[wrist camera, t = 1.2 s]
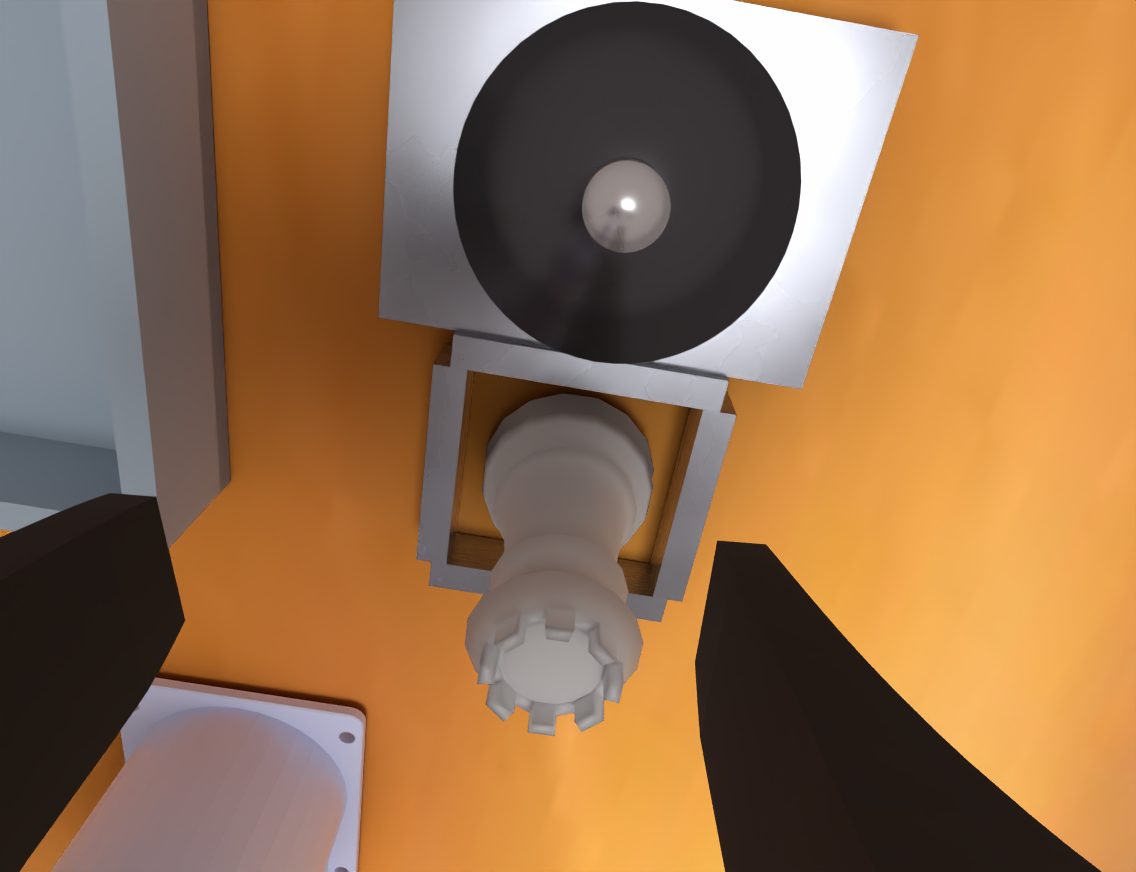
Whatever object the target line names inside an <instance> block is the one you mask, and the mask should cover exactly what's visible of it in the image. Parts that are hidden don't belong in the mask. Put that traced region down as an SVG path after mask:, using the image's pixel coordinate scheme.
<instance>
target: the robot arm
mask: <svg viewBox="0 0 1136 872" xmlns="http://www.w3.org/2000/svg"><path fill="white" fill-rule="evenodd" d="M184 622H185V618H184V613H183V609H182V605H181V600H180V596H179V592H178V588H177V583H176V579H175V575H174V570H173V566H172V562H171V558H170V553H169V549H168V545H167V540H166V536H165V532H164V528H163V523H162V519H161V515H160V510H159V506H158V502H157V498H156V497H155V496H142V495H129V494H117V493H108V494H105V495H103V496H100V497H97V498H94V499H91V500H88V501H85V502H83V503H80V504H78V505H75V506H73V507H70V508H68V509H65V510H63V511H60V512H58V513H55V514H53V515H51V516H48V517H46V518H44V519H41V520H39V521H37V522H34V523H32V524H30V525H28V526H25V527H23V528H21V529H18V530H16V531H14V532H12V533H9V534H7V535H5V536H3V537H0V872H20V870H21V869H22V867H23V866H24V864H25V863H26V861H27V860H28V858H29V857H30V856H31V854H32V853H33V851H34V850H35V849H36V847H37V846H38V845H39V843H40V842H41V840H42V839H43V838H44V836H45V835H46V833H47V832H48V831H49V829H50V828H51V826H52V825H53V824H54V822H55V821H56V820H57V818H58V817H59V815H60V814H61V813H62V811H63V810H64V808H65V807H66V806H67V804H68V803H69V801H70V800H71V799H72V797H73V796H74V795H75V793H76V792H77V790H78V789H79V788H80V786H81V785H82V783H83V782H84V781H85V779H86V778H87V776H88V775H89V774H90V772H91V771H92V770H93V768H94V767H95V765H96V764H97V763H98V761H99V760H100V758H101V757H102V756H103V754H104V753H105V752H106V750H107V749H108V747H109V746H110V744H111V743H112V742H113V740H114V739H115V737H116V736H117V735H118V733H119V732H121V738H122V745H123V751H124V758H125V765H124V766H123V767H122V769H121V770H120V772H119V773H118V775H117V776H116V778H115V779H114V780H113V782H112V783H111V785H110V786H109V788H108V789H107V790H106V792H105V793H104V795H103V796H102V798H101V799H100V801H99V802H98V803H97V805H96V806H95V808H94V809H93V811H92V812H91V813H90V815H89V816H88V818H87V819H86V821H85V822H84V824H83V825H82V826H81V828H80V829H79V831H78V832H77V834H76V835H75V837H74V838H73V839H72V841H71V842H70V844H69V845H68V847H67V848H66V849H65V851H64V852H63V854H62V855H61V857H60V858H59V860H58V861H57V862H56V864H55V865H54V867H53V868H52V870H51V871H50V872H358V857H359V839H360V821H361V803H362V785H363V767H364V749H365V731H366V718H365V715H364V714H363V713H362V712H361V711H360V710H358V709H356V708H353V707H347V706H340V705H334V704H327V703H320V702H314V701H307V700H301V699H294V698H287V697H281V696H274V695H268V694H261V693H254V692H248V691H241V690H235V689H228V688H221V687H215V686H208V685H202V684H195V683H188V682H182V681H175V680H169V679H162V678H156V676H157V674H158V672H159V670H160V668H161V667H162V665H163V663H164V661H165V659H166V657H167V655H168V653H169V651H170V649H171V647H172V645H173V644H174V642H175V640H176V638H177V636H178V634H179V632H180V630H181V628H182V626H183V624H184ZM695 669H696V685H697V702H698V715H699V728H700V739H701V744H702V750H703V756H704V761H705V767H706V772H707V777H708V783H709V788H710V794H711V799H712V804H713V810H714V815H715V820H716V825H717V831H718V836H719V841H720V847H721V852H722V857H723V862H724V868H725V872H1101V871H1100V870H1099V869H1097V868H1096V867H1095V866H1093V865H1092V864H1091V863H1090V862H1088V861H1087V860H1086V859H1084V858H1083V857H1082V856H1080V855H1079V854H1078V853H1077V852H1075V851H1074V850H1073V849H1071V848H1070V847H1069V846H1068V845H1066V844H1065V843H1064V842H1063V841H1062V840H1060V839H1059V838H1058V837H1057V836H1055V835H1054V834H1053V833H1052V832H1050V831H1049V830H1048V829H1047V828H1046V827H1044V826H1043V825H1042V824H1041V823H1039V822H1038V821H1037V820H1036V819H1034V818H1033V817H1032V816H1031V815H1030V814H1028V813H1027V812H1026V811H1025V810H1024V809H1023V808H1022V807H1020V806H1019V805H1018V804H1017V803H1016V802H1015V801H1013V800H1012V799H1011V798H1010V797H1009V796H1008V795H1007V794H1005V793H1004V792H1003V791H1002V790H1001V789H1000V788H999V787H997V786H996V785H995V784H994V783H993V782H992V781H990V780H989V779H988V778H987V777H986V776H985V775H984V774H982V773H981V772H980V771H979V770H978V769H977V768H975V767H974V766H973V765H972V764H971V763H970V762H969V761H967V760H966V759H965V758H964V757H963V756H962V755H961V754H960V753H959V752H958V751H957V750H956V749H954V748H953V747H952V746H951V745H950V744H949V743H948V742H947V741H946V740H945V739H944V738H943V737H942V736H940V735H939V734H938V733H937V732H936V731H935V730H934V729H933V728H932V727H931V726H930V725H929V724H928V723H927V722H926V721H925V720H924V719H923V718H922V717H921V716H920V715H919V714H918V713H917V712H916V711H915V710H914V709H913V708H912V707H911V706H910V705H909V704H908V703H907V702H906V701H905V700H904V699H903V698H902V697H901V696H900V695H899V694H898V693H897V692H896V691H895V690H894V689H893V688H892V687H891V686H890V685H889V684H888V683H887V682H886V681H885V680H884V679H883V678H882V677H881V676H880V675H879V674H878V672H877V671H876V670H875V669H874V668H873V667H872V666H871V665H870V664H869V663H868V662H867V661H866V660H865V659H864V658H863V656H862V655H861V654H860V653H859V652H858V651H857V650H856V649H855V648H854V647H853V645H852V644H851V643H850V642H849V641H848V640H847V639H846V638H845V637H844V636H843V634H842V633H841V632H840V631H839V630H838V629H837V628H836V627H835V625H834V624H833V623H832V622H831V621H830V620H829V619H828V617H827V616H826V615H825V614H824V613H823V612H822V610H821V609H820V608H819V607H818V606H817V605H816V603H815V602H814V601H813V600H812V599H811V597H810V596H809V595H808V594H807V593H806V592H805V590H804V589H803V588H802V587H801V586H800V584H799V583H798V582H797V581H796V580H795V578H794V577H793V576H792V575H791V574H790V572H789V571H788V570H787V569H786V568H785V566H784V565H783V564H782V563H781V562H780V560H779V559H778V558H777V557H776V556H775V555H774V553H773V552H772V551H771V550H770V549H769V548H768V546H767V545H766V544H753V543H740V542H728V541H717V545H716V551H715V556H714V562H713V567H712V573H711V578H710V584H709V589H708V594H707V600H706V605H705V611H704V616H703V622H702V627H701V633H700V638H699V644H698V649H697V654H696V660H695ZM347 732H349V733H347ZM350 733H352V734H350Z"/></svg>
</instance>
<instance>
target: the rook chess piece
mask: <svg viewBox="0 0 1136 872" xmlns="http://www.w3.org/2000/svg"><path fill="white" fill-rule="evenodd" d="M653 470H654V468H653V464H652V459H651V455H650V451H649V447H648V442H647V439H646V438H645V437H644V436H643V434H642V433H641V432H640V430H639V429H638V428H637V427H636V425H635V424H634V423H633V421H632V420H631V419H630V418H629V416H628V415H627V414H625V413H623V412H621V411H620V410H618V409H616V408H614V407H613V406H611V405H609V404H607V403H605V402H604V401H602V400H600V399H598V398H593V397H586V396H579V395H572V394H565V393H562V394H558V395H553V396H549V397H544V398H540V399H535V400H531V401H529V402H527V403H526V404H524V405H523V406H522V407H520V408H519V409H517V410H516V411H514V412H513V413H511V414H510V415H509V416H507V417H506V418H504V419H503V420H502V422H501V424H500V425H499V427H498V429H497V430H496V432H495V434H494V435H493V437H492V438H491V440H490V442H489V443H488V445H487V455H486V461H485V469H484V479H483V489H482V491H483V495H484V499H485V502H486V505H487V508H488V510H489V513H490V516H491V519H492V522H493V524H494V526H495V527H496V528H497V529H498V530H499V531H500V534H501V536H502V538H503V539H504V553H503V555H502V556H501V558H500V559H499V561H498V562H497V564H496V565H495V566H494V568H493V569H492V571H491V576H490V585H489V592H487V593H485V594H484V595H483V597H482V598H481V600H480V601H479V602H478V604H477V605H476V607H475V608H474V610H473V611H472V613H471V614H470V616H469V617H468V620H467V630H466V640H465V646H466V649H467V651H468V654H469V656H470V659H471V661H472V664H473V666H474V668H475V671H476V672H477V673H478V682H477V684H489V690H488V695H487V700H486V705H487V706H488V707H489V708H490V709H491V710H492V711H493V712H494V713H495V714H496V715H497V716H498V717H499V718H500V719H501V720H503V721H504V720H506V719H507V718H508V717H509V716H511V715H512V714H513V713H514V708H515V706H517V707H519V708H521V709H524V710H526V711H528V712H530V715H529V724H528V732H529V733H536V734H544V735H551V736H555V726H556V716H559V715H566V714H572V713H575V719H574V721H575V723H576V724H577V726H578V727H579V729H580V731H581V732H582V731H584V730H586V729H588V728H590V727H592V726H594V725H596V724H598V723H600V722H602V721H604V700H609V701H612V702H616V703H619V700H620V696H621V692H622V688H623V685H624V684H625V682H626V681H627V680H628V679H629V678H630V677H631V675H632V674H633V673H634V672H635V671H636V669H637V667H638V663H639V658H640V654H641V650H642V646H643V640H642V636H641V632H640V629H639V625H638V622H637V618H636V615H635V614H634V613H633V612H632V611H631V609H630V608H629V607H628V606H627V605H626V599H627V595H628V588H627V584H626V581H625V577H624V573H623V570H622V568H621V567H620V566H619V565H618V563H617V559H618V554H619V550H620V549H621V548H622V546H623V545H625V544H627V542H628V541H629V540H630V538H631V537H632V536H633V534H634V533H635V532H636V531H637V529H638V528H639V527H640V525H641V524H642V523H643V521H644V519H645V517H646V515H647V511H648V507H649V502H650V498H651V493H652V489H653V483H652V475H653Z"/></svg>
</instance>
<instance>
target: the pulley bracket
mask: <svg viewBox="0 0 1136 872" xmlns="http://www.w3.org/2000/svg"><path fill="white" fill-rule="evenodd" d="M918 36H919V35H915V34H909V33H904V32H899V31H893V30H888V29H883V28H877V27H872V26H867V25H861V24H856V23H851V22H845V21H840V20H834V19H829V18H824V17H818V16H813V15H808V14H802V13H797V12H792V11H786V10H781V9H776V8H770V7H765V6H759V5H754V4H749V3H743V2H738V1H733V0H394V11H393V32H392V52H391V72H390V92H389V113H388V133H387V153H386V174H385V194H384V214H383V234H382V255H381V275H380V295H379V316H378V317H379V318H385V319H391V320H396V321H402V322H408V323H414V324H420V325H426V326H432V327H438V328H444V329H450V330H455V333H454V335H453V344H447V343H445V345H444V347H443V349H442V350H441V352H440V354H439V355H438V357H437V359H436V360H435V362H434V364H433V372H432V384H431V396H430V407H429V419H428V430H427V442H426V454H425V465H424V477H423V488H422V500H421V512H420V523H419V535H418V546H417V558H416V559H417V560H423V561H430V562H431V570H430V580H429V586H435V587H441V588H447V589H454V590H460V591H466V592H473V593H479V594H485V593H487V592H489V585H490V576H491V571H492V569H493V568H494V566H495V565H496V564H497V562H498V561H499V559H500V558H501V556H502V555H503V553H504V540H499V539H493V538H486V537H480V536H474V535H468V534H462V533H456V531H457V522H458V513H459V505H460V496H461V487H462V478H463V469H464V461H465V452H466V443H467V434H468V425H469V417H470V408H471V399H472V390H473V381H474V373H475V371H476V372H482V373H488V374H494V375H500V376H506V377H512V378H518V379H524V380H530V381H536V382H542V383H548V384H554V385H560V386H566V387H572V388H577V389H583V390H589V391H595V392H601V393H607V394H613V395H619V396H625V397H631V398H637V399H643V400H649V401H655V402H661V403H667V404H673V405H679V406H685V407H690V411H689V415H688V418H687V422H686V426H685V430H684V434H683V438H682V441H681V445H680V449H679V453H678V457H677V461H676V464H675V468H674V472H673V476H672V480H671V484H670V487H669V491H668V495H667V499H666V503H665V507H664V511H663V514H662V518H661V522H660V526H659V530H658V534H657V537H656V541H655V545H654V549H653V553H652V557H651V560H650V564H649V563H642V562H636V561H630V560H624V559H617V563H618V565H619V566H620V567H621V568H622V570H623V573H624V577H625V581H626V584H627V588H628V595H627V599H626V605H627V606H628V607H629V608H630V609H631V611H632V612H633V613H634V614H635V615H636V618H638V619H644V620H650V621H657V622H661V620H662V617H663V613H664V610H665V606H666V603H667V599H669V600H675V601H682V600H683V597H684V593H685V590H686V586H687V583H688V580H689V576H690V573H691V569H692V566H693V562H694V559H695V556H696V552H697V549H698V545H699V542H700V539H701V535H702V532H703V528H704V525H705V521H706V518H707V515H708V511H709V508H710V504H711V501H712V498H713V494H714V491H715V487H716V484H717V480H718V477H719V474H720V470H721V467H722V463H723V460H724V457H725V453H726V450H727V446H728V443H729V439H730V436H731V433H732V429H733V426H734V422H735V419H736V416H737V415H736V412H735V410H734V407H733V405H732V402H731V400H730V397H729V395H728V392H727V391H726V389H727V386H728V382H729V381H728V378H727V377H733V378H739V379H745V380H751V381H756V382H762V383H768V384H774V385H780V386H786V387H792V388H798V389H802V387H803V384H804V381H805V378H806V375H807V372H808V369H809V366H810V363H811V360H812V357H813V354H814V351H815V348H816V345H817V342H818V339H819V336H820V332H821V329H822V326H823V323H824V320H825V317H826V314H827V311H828V308H829V305H830V302H831V299H832V296H833V293H834V290H835V287H836V284H837V281H838V278H839V275H840V272H841V269H842V266H843V263H844V260H845V257H846V254H847V251H848V248H849V245H850V242H851V239H852V236H853V233H854V230H855V227H856V224H857V221H858V218H859V215H860V212H861V208H862V205H863V202H864V199H865V196H866V193H867V190H868V187H869V184H870V181H871V178H872V175H873V172H874V169H875V166H876V163H877V160H878V157H879V154H880V151H881V148H882V145H883V142H884V139H885V136H886V133H887V130H888V127H889V124H890V121H891V118H892V115H893V112H894V109H895V106H896V103H897V100H898V97H899V94H900V91H901V87H902V84H903V81H904V78H905V75H906V72H907V69H908V66H909V63H910V60H911V57H912V54H913V51H914V48H915V45H916V42H917V39H918Z"/></svg>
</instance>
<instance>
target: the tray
mask: <svg viewBox="0 0 1136 872" xmlns="http://www.w3.org/2000/svg"><path fill="white" fill-rule="evenodd" d="M229 482H230V464H229V443H228V423H227V402H226V382H225V362H224V341H223V321H222V300H221V280H220V259H219V239H218V218H217V198H216V178H215V157H214V137H213V116H212V96H211V75H210V55H209V34H208V14H207V0H0V529H1V530H8V531H16V530H18V529H21V528H23V527H25V526H28V525H30V524H32V523H34V522H37V521H39V520H41V519H44V518H46V517H48V516H51V515H53V514H55V513H58V512H60V511H63V510H65V509H68V508H70V507H73V506H75V505H78V504H80V503H83V502H85V501H88V500H91V499H94V498H97V497H100V496H103V495H105V494H108V493H117V494H129V495H142V496H155V497H156V498H157V502H158V506H159V510H160V515H161V519H162V523H163V528H164V532H165V536H166V540H167V545H168V549H169V548H170V547H171V545H172V544H173V543H174V542H175V541H176V540H177V539H178V538H179V537H180V536H181V535H182V533H183V532H184V531H185V530H186V529H187V528H188V527H189V526H190V525H191V524H192V523H193V521H194V520H195V519H196V518H197V517H198V516H199V515H200V514H201V513H202V512H203V511H204V510H205V508H206V507H207V506H208V505H209V504H210V503H211V502H212V501H213V500H214V499H215V498H216V496H217V495H218V494H219V493H220V492H221V491H222V490H223V489H224V488H225V487H226V486H227V484H228V483H229Z"/></svg>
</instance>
